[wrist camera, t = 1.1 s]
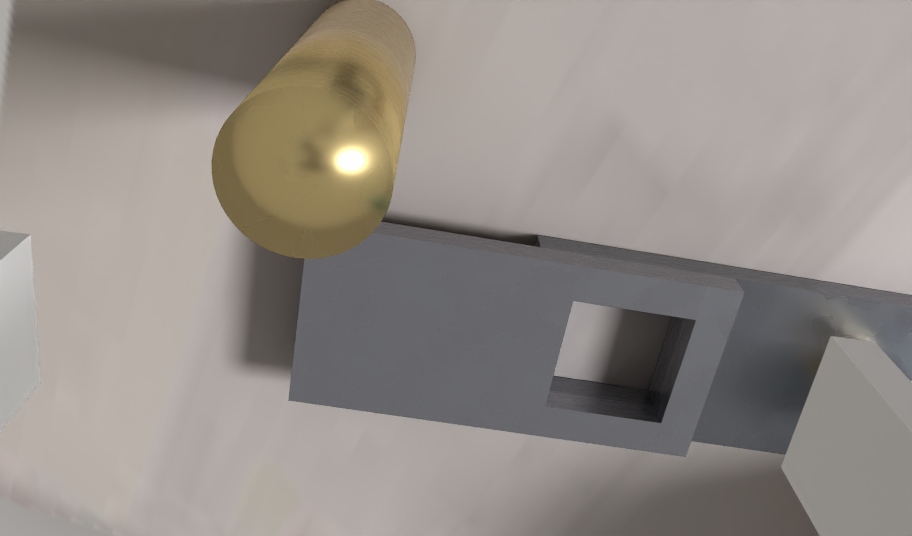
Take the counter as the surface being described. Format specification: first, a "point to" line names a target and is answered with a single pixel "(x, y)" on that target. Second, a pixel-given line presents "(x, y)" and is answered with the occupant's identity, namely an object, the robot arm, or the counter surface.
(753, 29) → the counter surface
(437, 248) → the grey slide latch
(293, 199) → the pin
